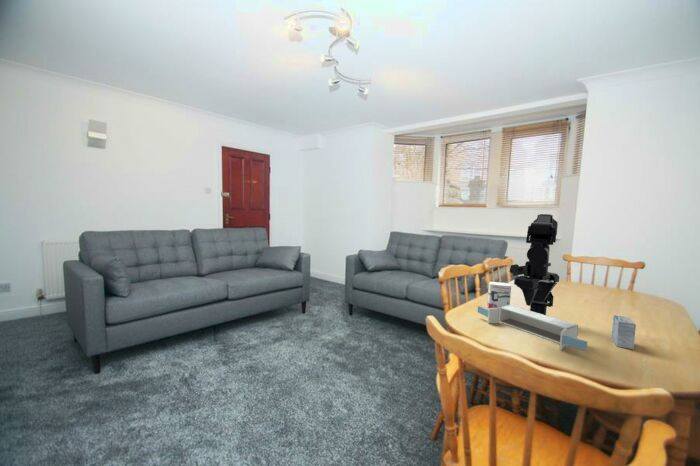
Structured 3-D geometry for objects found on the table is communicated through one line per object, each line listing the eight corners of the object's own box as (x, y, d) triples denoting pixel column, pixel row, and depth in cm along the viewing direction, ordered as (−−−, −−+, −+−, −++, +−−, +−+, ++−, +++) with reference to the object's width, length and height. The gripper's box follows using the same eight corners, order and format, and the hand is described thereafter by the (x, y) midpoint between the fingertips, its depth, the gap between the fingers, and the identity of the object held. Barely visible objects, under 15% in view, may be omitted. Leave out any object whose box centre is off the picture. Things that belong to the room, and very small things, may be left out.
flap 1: (499, 322, 118) (500, 308, 118) (488, 323, 117) (489, 308, 116) (487, 316, 124) (487, 302, 124) (476, 317, 123) (477, 303, 123)
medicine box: (633, 350, 97) (636, 324, 97) (615, 346, 100) (618, 321, 99) (627, 341, 104) (630, 317, 103) (611, 338, 106) (613, 314, 106)
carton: (508, 318, 123) (510, 304, 122) (576, 342, 102) (578, 324, 102) (498, 321, 119) (499, 306, 119) (566, 346, 99) (568, 328, 98)
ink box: (488, 309, 134) (490, 283, 133) (487, 306, 139) (488, 281, 138) (509, 312, 132) (511, 285, 131) (507, 308, 136) (509, 283, 136)
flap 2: (559, 349, 95) (560, 332, 95) (563, 345, 99) (564, 328, 98) (585, 357, 91) (587, 339, 90) (588, 352, 94) (589, 334, 94)
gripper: (529, 253, 115) (526, 293, 117) (500, 257, 105) (497, 301, 107) (561, 258, 106) (558, 301, 107) (533, 263, 96) (530, 310, 97)
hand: (535, 303), depth 105 cm, fingers open, 9 cm apart
